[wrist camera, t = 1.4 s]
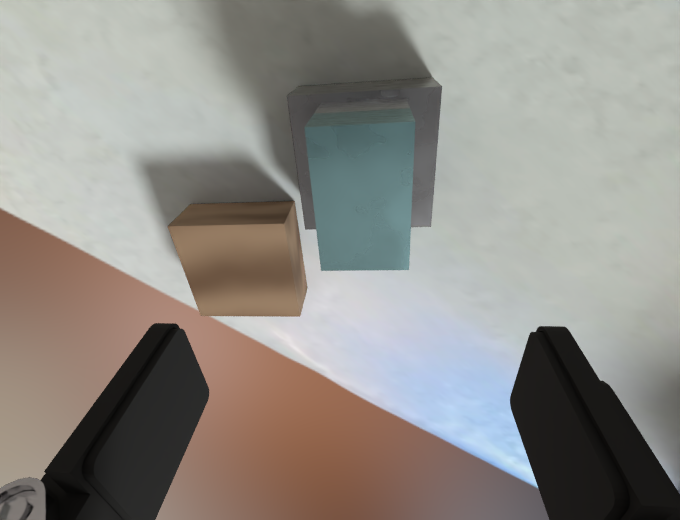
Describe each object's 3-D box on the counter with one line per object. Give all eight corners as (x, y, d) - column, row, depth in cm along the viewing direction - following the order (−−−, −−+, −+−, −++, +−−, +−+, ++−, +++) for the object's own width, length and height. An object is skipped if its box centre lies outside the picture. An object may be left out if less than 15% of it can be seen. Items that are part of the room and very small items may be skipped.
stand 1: (190, 204, 30) (167, 226, 27) (294, 201, 30) (284, 223, 26) (217, 288, 35) (200, 315, 32) (307, 288, 34) (300, 316, 31)
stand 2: (298, 86, 25) (287, 95, 21) (432, 77, 24) (441, 86, 20) (313, 206, 30) (305, 229, 26) (424, 203, 29) (430, 226, 25)
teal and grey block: (321, 102, 21) (304, 127, 16) (405, 98, 21) (415, 121, 16) (331, 222, 26) (321, 270, 21) (402, 221, 25) (408, 269, 20)
